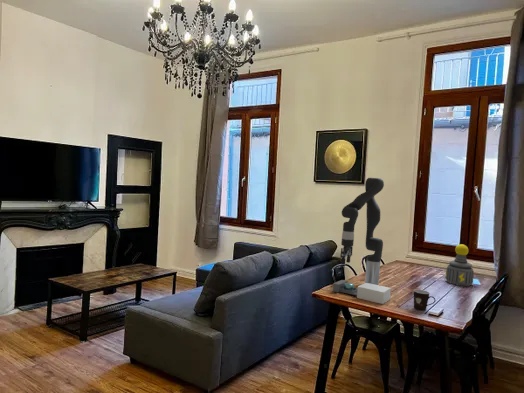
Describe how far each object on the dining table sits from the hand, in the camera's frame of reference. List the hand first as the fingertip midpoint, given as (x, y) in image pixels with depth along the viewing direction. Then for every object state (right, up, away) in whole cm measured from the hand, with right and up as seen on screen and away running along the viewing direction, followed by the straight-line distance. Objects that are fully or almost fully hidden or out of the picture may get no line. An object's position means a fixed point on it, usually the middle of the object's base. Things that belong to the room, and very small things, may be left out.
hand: (345, 263), depth 245 cm
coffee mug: (+38, -22, -26) cm, 51 cm away
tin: (+2, -17, -1) cm, 17 cm away
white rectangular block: (+15, -20, -10) cm, 27 cm away
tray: (+3, -18, -2) cm, 18 cm away
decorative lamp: (+98, -24, +49) cm, 112 cm away
